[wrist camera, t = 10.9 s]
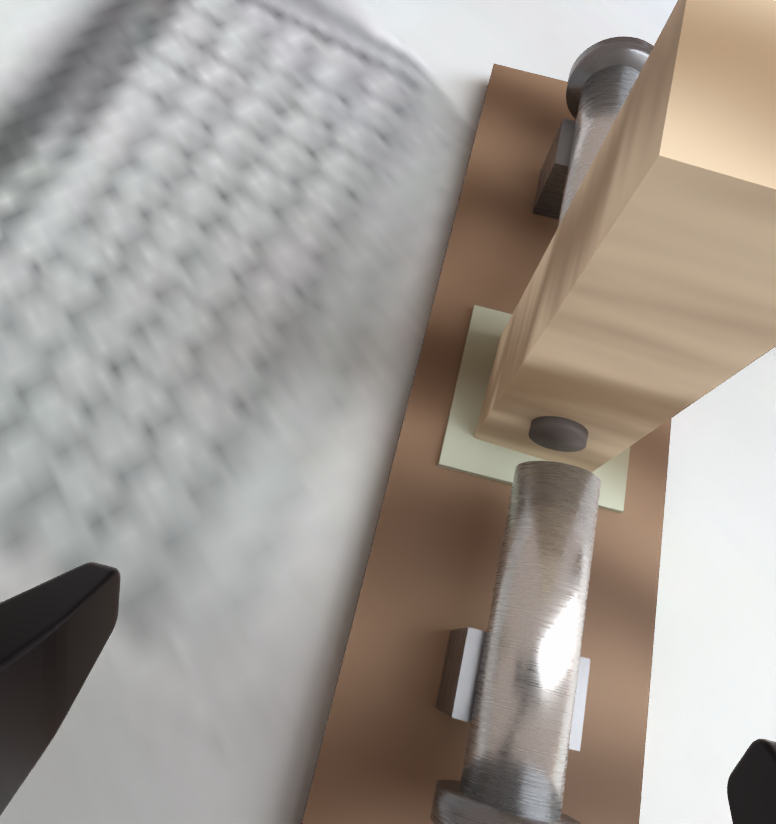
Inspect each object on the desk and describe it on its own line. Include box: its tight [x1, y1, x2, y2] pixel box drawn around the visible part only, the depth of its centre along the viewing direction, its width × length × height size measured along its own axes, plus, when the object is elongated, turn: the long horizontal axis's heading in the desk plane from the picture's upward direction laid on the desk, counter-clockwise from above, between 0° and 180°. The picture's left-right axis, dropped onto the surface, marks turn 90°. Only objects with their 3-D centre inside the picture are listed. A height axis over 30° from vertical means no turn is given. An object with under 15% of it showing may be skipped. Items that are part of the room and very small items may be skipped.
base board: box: [301, 64, 671, 824], centre depth 24 cm, size 34×10×2 cm, turn 165°
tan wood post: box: [474, 0, 776, 472], centre depth 17 cm, size 5×4×14 cm
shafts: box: [430, 37, 654, 824], centre depth 21 cm, size 28×4×5 cm, turn 165°
